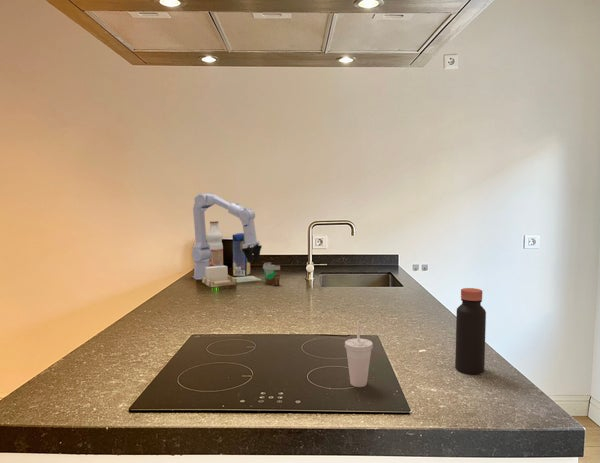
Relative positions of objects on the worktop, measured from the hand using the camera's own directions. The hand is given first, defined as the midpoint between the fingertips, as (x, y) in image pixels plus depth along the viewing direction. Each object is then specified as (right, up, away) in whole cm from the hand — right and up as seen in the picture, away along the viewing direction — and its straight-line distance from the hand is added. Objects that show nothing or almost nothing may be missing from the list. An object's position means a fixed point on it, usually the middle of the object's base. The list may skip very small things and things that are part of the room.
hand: (253, 261), depth 224 cm
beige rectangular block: (-19, -11, +1) cm, 21 cm away
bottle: (+65, -20, -111) cm, 130 cm away
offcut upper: (-15, -11, -5) cm, 19 cm away
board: (-5, -10, +8) cm, 14 cm away
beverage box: (-9, -9, +24) cm, 27 cm away
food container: (+8, -11, -4) cm, 14 cm away
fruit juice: (-27, -8, +41) cm, 50 cm away
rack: (-17, -11, -2) cm, 20 cm away
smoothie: (+36, -21, -119) cm, 126 cm away
